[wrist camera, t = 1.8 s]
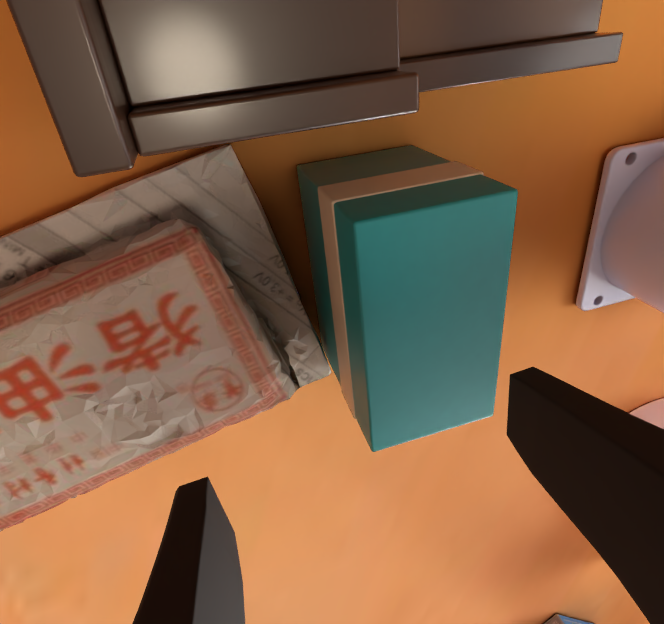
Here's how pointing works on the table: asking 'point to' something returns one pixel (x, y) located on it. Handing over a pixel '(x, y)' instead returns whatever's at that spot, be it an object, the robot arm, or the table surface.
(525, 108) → the table surface
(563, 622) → the label tape box
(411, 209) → the block
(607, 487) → the robot arm
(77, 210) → the packaged product
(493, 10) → the step shelf
